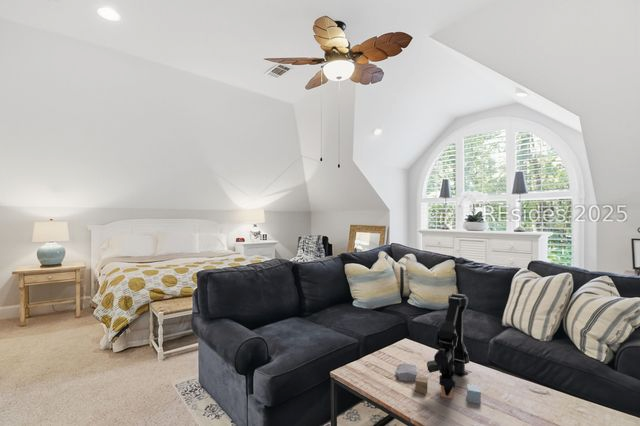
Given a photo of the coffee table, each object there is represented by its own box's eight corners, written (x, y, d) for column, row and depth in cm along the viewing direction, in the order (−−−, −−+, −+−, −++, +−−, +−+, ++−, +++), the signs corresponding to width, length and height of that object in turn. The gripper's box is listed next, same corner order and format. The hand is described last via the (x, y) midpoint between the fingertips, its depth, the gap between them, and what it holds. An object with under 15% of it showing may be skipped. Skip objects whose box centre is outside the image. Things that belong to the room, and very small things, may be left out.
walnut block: (416, 385, 153) (416, 375, 153) (427, 388, 151) (427, 377, 151) (415, 391, 148) (415, 380, 148) (426, 393, 147) (427, 382, 147)
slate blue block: (466, 395, 145) (466, 384, 145) (479, 397, 144) (479, 386, 143) (467, 401, 141) (467, 390, 141) (480, 404, 139) (480, 392, 139)
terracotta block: (440, 390, 149) (440, 379, 149) (452, 392, 147) (452, 381, 147) (440, 396, 144) (440, 384, 144) (453, 398, 143) (453, 387, 143)
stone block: (398, 384, 158) (419, 382, 156) (396, 374, 158) (417, 371, 157) (397, 372, 170) (416, 370, 168) (395, 363, 170) (414, 361, 168)
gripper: (428, 346, 157) (428, 378, 158) (427, 363, 140) (426, 399, 140) (453, 349, 153) (453, 382, 154) (455, 367, 136) (455, 405, 136)
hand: (446, 392), depth 146 cm, fingers closed on terracotta block, 5 cm apart
